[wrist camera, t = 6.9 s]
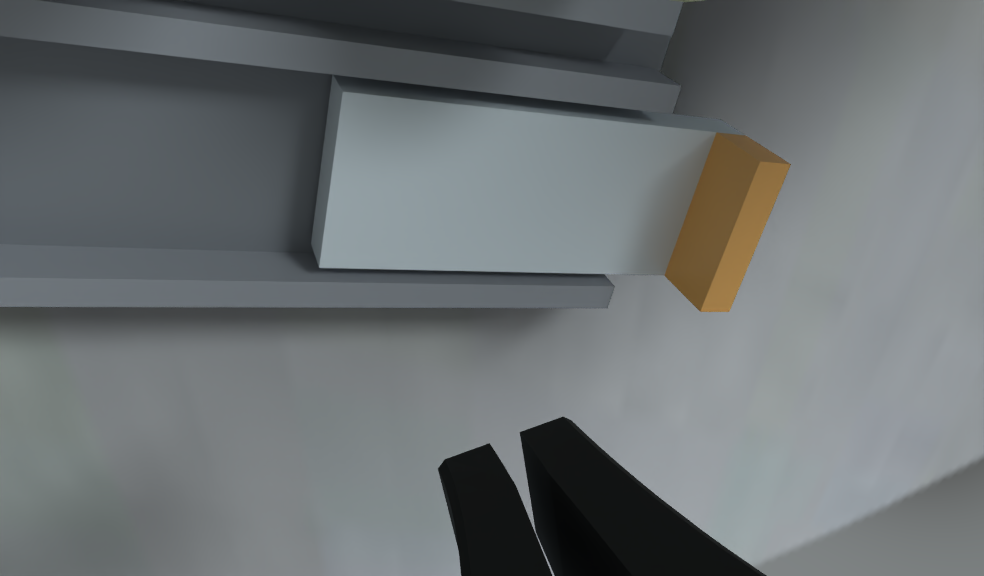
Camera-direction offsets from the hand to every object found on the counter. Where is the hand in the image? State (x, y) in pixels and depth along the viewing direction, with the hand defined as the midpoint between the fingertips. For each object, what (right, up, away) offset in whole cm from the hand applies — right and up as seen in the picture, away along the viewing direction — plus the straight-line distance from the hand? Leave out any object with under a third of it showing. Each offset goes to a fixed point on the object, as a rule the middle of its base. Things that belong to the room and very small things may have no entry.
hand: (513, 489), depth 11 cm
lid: (0, +5, +7) cm, 9 cm away
